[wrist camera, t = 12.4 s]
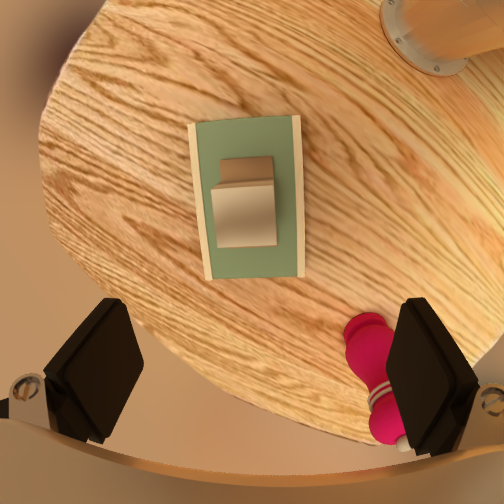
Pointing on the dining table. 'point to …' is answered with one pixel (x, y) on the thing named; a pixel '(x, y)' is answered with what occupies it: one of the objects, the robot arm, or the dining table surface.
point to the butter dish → (245, 203)
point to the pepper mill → (375, 376)
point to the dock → (285, 189)
